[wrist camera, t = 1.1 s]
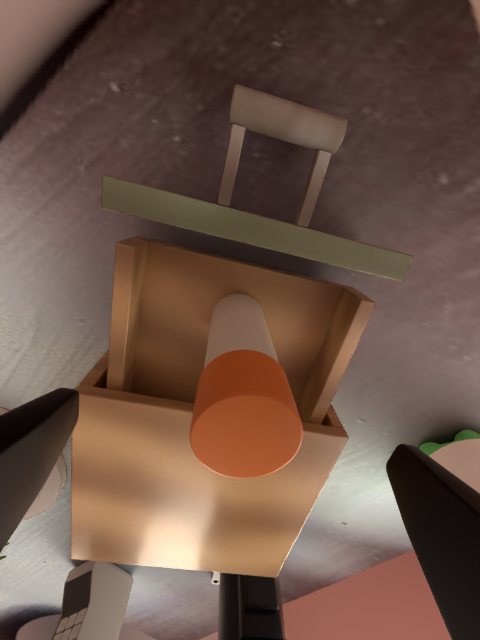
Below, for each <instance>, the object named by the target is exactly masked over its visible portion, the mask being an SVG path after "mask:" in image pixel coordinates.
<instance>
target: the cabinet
mask: <svg viewBox="0 0 480 640" xmlns="http://www.w3.org/2000/svg"><path fill="white" fill-rule="evenodd" d="M108 357H109V350H108V351H107V352H106V353H105V354H104V356H103V357H102V358H101V359H100V360H99V361H98V363H97V364H96V365H95V366H94V367H93V369H92V370H91V371H90V372H89V373H88V374H87V376H86V377H85V378H84V379H83V380H82V381H81V383H80V384H79V385H78V386H77V387H76V389H75V390H77V391H78V392H79V417H78V421H77V424H76V426H75V428H74V430H73V431H72V464H71V559H77V560H88V561H99V562H110V563H121V564H132V565H143V566H154V567H165V568H176V569H187V570H198V571H209V572H220V573H231V574H242V575H253V576H264V577H275V578H276V577H277V575H278V573H279V571H280V569H281V567H282V566H283V564H284V562H285V560H286V558H287V556H288V554H289V552H290V550H291V548H292V546H293V544H294V542H295V541H296V539H297V537H298V535H299V533H300V531H301V529H302V527H303V525H304V523H305V521H306V519H307V518H308V516H309V514H310V512H311V510H312V508H313V506H314V504H315V502H316V500H317V498H318V496H319V494H320V493H321V491H322V489H323V487H324V485H325V483H326V481H327V479H328V477H329V475H330V473H331V471H332V470H333V468H334V466H335V464H336V462H337V460H338V458H339V456H340V454H341V452H342V450H343V448H344V446H345V445H346V443H347V441H348V439H349V437H348V435H347V433H346V431H345V429H343V426H342V424H341V422H340V420H339V418H338V416H337V414H336V412H335V410H334V408H333V406H332V404H330V406H329V408H328V410H327V412H326V415H325V417H324V419H323V421H322V423H321V425H319V424H313V423H307V422H302V426H303V438H302V443H301V446H300V448H299V450H298V452H297V454H296V455H295V456H294V458H293V459H292V460H291V461H290V462H289V463H287V464H286V465H285V466H284V467H282V468H280V469H279V470H277V471H275V472H273V473H270V474H268V475H264V476H261V477H255V478H232V477H227V476H224V475H220V474H218V473H215V472H213V471H212V470H210V469H208V468H207V467H205V466H204V465H203V464H202V463H201V462H200V461H199V460H198V459H197V458H196V456H195V454H194V453H193V450H192V448H191V445H190V440H189V433H190V426H191V421H192V415H193V409H194V404H193V403H187V402H181V401H176V400H170V399H164V398H158V397H152V396H146V395H140V394H134V393H128V392H122V391H116V390H110V389H106V387H107V372H108Z"/></svg>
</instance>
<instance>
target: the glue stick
mask: <svg viewBox="0 0 480 640" xmlns="http://www.w3.org/2000/svg"><path fill="white" fill-rule="evenodd" d="M302 438H303V426H302V422H301V419H300V416H299V413H298V410H297V407H296V404H295V401H294V398H293V395H292V392H291V389H290V386H289V383H288V380H287V377H286V374H285V372H284V370H283V368H282V367H281V366H280V364H279V362H278V359H277V355H276V352H275V349H274V346H273V343H272V340H271V337H270V333H269V330H268V327H267V324H266V321H265V318H264V314H263V311H262V308H261V306H260V305H259V303H258V302H257V301H256V300H255V299H254V298H252V297H250V296H248V295H245V294H238V293H237V294H231V295H228V296H226V297H224V298H222V299H221V300H220V301H219V302H218V303H217V304H216V306H215V308H214V310H213V314H212V320H211V327H210V333H209V339H208V345H207V351H206V358H205V364H204V370H203V371H202V373H201V375H200V378H199V382H198V387H197V393H196V398H195V404H194V409H193V415H192V421H191V426H190V433H189V440H190V445H191V448H192V450H193V453H194V454H195V456H196V458H197V459H198V460H199V461H200V462H201V463H202V464H203V465H204V466H205V467H207V468H208V469H210V470H212V471H213V472H215V473H218V474H220V475H224V476H227V477H232V478H255V477H261V476H264V475H268V474H270V473H273V472H275V471H277V470H279V469H280V468H282V467H284V466H285V465H286V464H287V463H289V462H290V461H291V460H292V459H293V458H294V456H295V455H296V454H297V452H298V450H299V448H300V446H301V443H302Z"/></svg>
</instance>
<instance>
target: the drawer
mask: <svg viewBox="0 0 480 640" xmlns="http://www.w3.org/2000/svg"><path fill="white" fill-rule="evenodd" d="M228 121H229V124H230V125H232V128H231V134H230V139H229V144H228V149H227V154H226V160H225V165H224V170H223V175H222V180H221V185H220V191H219V196H218V201H217V204H214V203H210V202H206V201H203V200H199V199H195V198H191V197H187V196H183V195H180V194H176V193H172V192H168V191H164V190H161V189H157V188H153V187H149V186H145V185H142V184H138V183H134V182H130V181H126V180H122V179H119V178H115V177H111V176H107V175H103V177H102V200H101V207H102V208H104V209H108V210H112V211H116V212H121V213H125V214H129V215H133V216H137V217H141V218H145V219H149V220H153V221H157V222H161V223H165V224H169V225H173V226H177V227H181V228H185V229H189V230H193V231H197V232H201V233H205V234H209V235H214V236H218V237H222V238H226V239H230V240H234V241H238V242H242V243H246V244H250V245H254V246H258V247H262V248H266V249H270V250H274V251H278V252H282V253H286V254H290V255H294V256H298V257H302V258H306V259H311V260H315V261H319V262H323V263H327V264H331V265H335V266H339V267H343V268H347V269H351V270H355V271H359V272H363V273H367V274H371V275H375V276H379V277H383V278H387V279H391V280H395V281H399V282H400V281H402V280H403V278H404V276H405V274H406V272H407V270H408V268H409V266H410V263H411V261H412V259H413V256H412V255H408V254H405V253H401V252H397V251H393V250H389V249H386V248H382V247H378V246H374V245H370V244H366V243H363V242H359V241H355V240H351V239H347V238H344V237H340V236H336V235H332V234H328V233H325V232H321V231H317V230H313V229H309V228H308V226H309V223H310V220H311V217H312V213H313V210H314V207H315V204H316V201H317V198H318V195H319V192H320V188H321V185H322V182H323V179H324V176H325V173H326V170H327V167H328V163H329V160H330V157H331V155H334V154H335V153H336V152H337V150H338V149H339V147H340V145H341V143H342V141H343V138H344V136H345V133H346V129H347V120H346V119H345V118H342V117H339V116H336V115H333V114H329V113H326V112H323V111H320V110H317V109H314V108H311V107H308V106H305V105H301V104H298V103H295V102H292V101H289V100H286V99H283V98H280V97H277V96H273V95H270V94H267V93H264V92H261V91H258V90H255V89H252V88H249V87H245V86H242V85H239V84H236V85H235V87H234V90H233V95H232V100H231V106H230V112H229V120H228ZM245 130H250V131H253V132H256V133H260V134H263V135H266V136H270V137H273V138H276V139H280V140H283V141H286V142H290V143H293V144H296V145H299V146H303V147H306V148H309V149H313V150H316V151H317V152H316V154H315V157H314V160H313V164H312V167H311V170H310V174H309V177H308V180H307V184H306V187H305V190H304V194H303V197H302V200H301V203H300V207H299V210H298V213H297V217H296V220H295V223H294V224H295V225H294V224H290V223H286V222H283V221H279V220H275V219H271V218H267V217H264V216H260V215H256V214H252V213H248V212H244V211H241V210H237V209H233V208H229V206H230V201H231V196H232V192H233V187H234V182H235V177H236V173H237V168H238V163H239V158H240V154H241V149H242V144H243V139H244V135H245ZM237 293H238V294H245V295H248V296H250V297H252V298H254V299H255V300H256V301H257V302H258V303H259V305H260V306H261V308H262V311H263V314H264V318H265V321H266V324H267V327H268V330H269V333H270V337H271V340H272V343H273V346H274V349H275V352H276V355H277V359H278V362H279V364H280V366H281V367H282V368H283V370H284V372H285V374H286V377H287V380H288V383H289V386H290V389H291V392H292V395H293V398H294V401H295V404H296V407H297V410H298V413H299V416H300V419H301V422H307V423H313V424H319V425H321V423H322V421H323V419H324V417H325V415H326V412H327V410H328V408H329V406H330V404H331V402H332V399H333V397H334V395H335V393H336V391H337V388H338V386H339V384H340V382H341V380H342V377H343V375H344V373H345V371H346V369H347V367H348V364H349V362H350V360H351V358H352V356H353V353H354V351H355V349H356V347H357V345H358V343H359V340H360V338H361V336H362V334H363V332H364V329H365V327H366V325H367V323H368V321H369V318H370V316H371V314H372V312H373V310H374V308H375V305H376V302H374V301H373V300H371V299H370V298H368V297H367V296H365V295H363V294H362V293H360V292H359V291H357V290H356V289H354V288H352V287H350V286H346V285H341V284H337V283H333V282H329V281H325V280H320V279H316V278H312V277H308V276H304V275H300V274H295V273H291V272H287V271H283V270H279V269H274V268H270V267H266V266H262V265H258V264H253V263H249V262H245V261H241V260H237V259H233V258H228V257H224V256H220V255H216V254H212V253H207V252H203V251H199V250H195V249H191V248H186V247H182V246H178V245H174V244H170V243H166V242H161V241H157V240H153V239H149V238H145V237H140V236H136V237H132V238H129V239H125V240H122V241H119V242H116V252H115V267H114V282H113V297H112V312H111V327H110V342H109V357H108V372H107V387H106V389H110V390H116V391H122V392H128V393H134V394H140V395H146V396H152V397H158V398H164V399H170V400H176V401H181V402H187V403H193V404H195V398H196V393H197V387H198V382H199V378H200V375H201V373H202V371H203V370H204V364H205V358H206V351H207V345H208V339H209V333H210V327H211V320H212V314H213V310H214V308H215V306H216V304H217V303H218V302H219V301H220V300H221V299H222V298H224V297H226V296H228V295H231V294H237Z"/></svg>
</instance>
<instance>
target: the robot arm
mask: <svg viewBox="0 0 480 640" xmlns="http://www.w3.org/2000/svg"><path fill="white" fill-rule="evenodd" d="M78 417H79V392H78V391H77V390H75V389H69V388H58V389H56V390H54V391H52V392H49V393H47V394H45V395H43V396H41V397H39V398H36V399H34V400H32V401H30V402H28V403H26V404H23V405H21V406H19V407H17V408H15V409H13V410H10V411H8V412H6V413H4V414H2V415H0V552H1V551H2V549H3V548H4V546H5V545H6V543H7V542H8V540H9V539H10V537H11V535H12V534H13V532H14V531H15V529H16V528H17V526H18V525H19V523H20V522H21V520H22V519H23V517H24V516H25V514H26V513H27V511H28V510H29V508H30V506H31V505H32V503H33V502H34V500H35V499H36V497H37V496H38V494H39V492H40V491H41V489H42V488H43V486H44V484H45V483H46V481H47V479H48V477H49V475H50V473H51V471H52V470H53V468H54V466H55V464H56V462H57V460H58V458H59V456H60V454H61V452H62V451H63V449H64V447H65V445H66V443H67V441H68V439H69V437H70V435H71V433H72V431H73V430H74V428H75V426H76V424H77V421H78ZM386 471H387V474H388V477H389V480H390V483H391V486H392V489H393V492H394V495H395V498H396V501H397V505H398V508H399V511H400V514H401V517H402V520H403V523H404V525H405V528H406V531H407V533H408V536H409V539H410V541H411V543H412V546H413V548H414V551H415V553H416V555H417V558H418V560H419V563H420V565H421V567H422V570H423V572H424V575H425V577H426V579H427V582H428V584H429V587H430V589H431V591H432V594H433V596H434V599H435V601H436V603H437V606H438V608H439V610H440V613H441V615H442V618H443V620H444V622H445V625H446V627H447V629H448V632H449V634H450V637H451V639H452V640H480V493H478V492H477V491H476V490H474V489H473V488H472V487H470V486H469V485H467V484H466V483H465V482H463V481H462V480H461V479H459V478H458V477H457V476H455V475H454V474H452V473H451V472H450V471H448V470H447V469H446V468H444V467H443V466H442V465H440V464H439V463H437V462H436V461H435V460H433V459H432V458H431V457H429V456H428V455H427V454H425V453H424V452H422V451H421V450H420V449H418V448H417V447H415V446H412V445H407V444H399V445H398V446H397V447H396V449H395V450H394V452H393V453H392V455H391V457H390V458H389V460H388V462H387V465H386ZM287 557H288V556H287ZM286 559H287V558H286ZM285 561H286V560H285ZM284 563H285V562H284ZM283 565H284V564H283ZM282 567H283V566H282ZM282 567H281V569H282ZM281 569H280V571H281ZM280 571H279V572H280ZM278 574H279V573H278ZM211 583H212V584H218V585H219V622H218V640H287V636H286V628H285V621H284V613H283V607H282V598H281V591H280V583H279V576H278V575H277V577H276V578H275V577H264V576H253V575H242V574H231V573H220V572H213V573H212V576H211Z"/></svg>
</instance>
